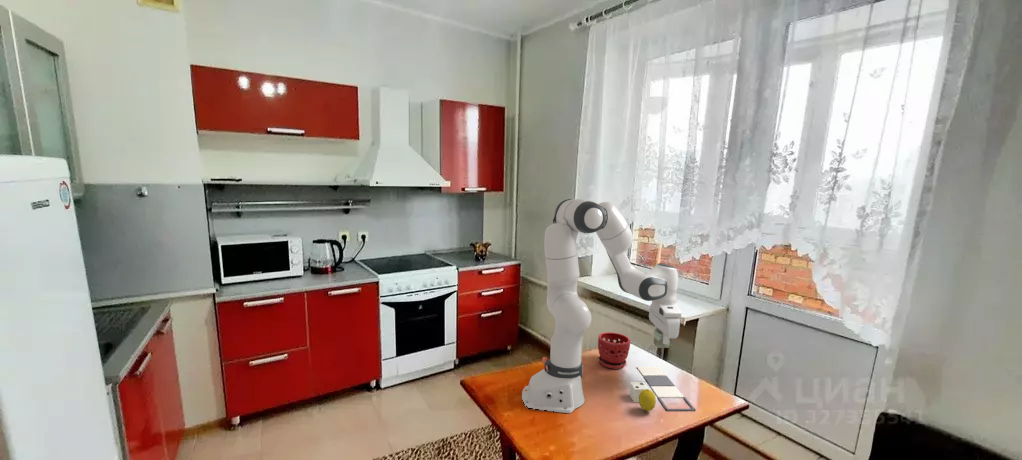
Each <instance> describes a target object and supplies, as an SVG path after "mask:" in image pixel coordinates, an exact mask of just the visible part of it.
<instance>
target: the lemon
mask: <svg viewBox="0 0 1022 460" xmlns="http://www.w3.org/2000/svg"><path fill="white" fill-rule="evenodd" d="M656 403H657V399H656V394H655V392H654V391H653V390H651V389H649V388H648V389H645V390H643V391H641V393H640V395H639V402H638V404H639V406H640V408H641V409H642V410H644V411H645V412H649V411H653V409H654V408H655V407H656Z"/></svg>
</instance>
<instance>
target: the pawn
mask: <svg viewBox="0 0 1022 460" xmlns="http://www.w3.org/2000/svg"><path fill="white" fill-rule="evenodd" d="M653 331H654V333H653V334H654V335H653V344H654V345H655V347H657V348H658V349H662V348H663V349H670V343H671V341H670V340H671V338H669V339H668V343H667V344H663V343H662V338H663V336H664V335H663V333H662V332H661V331H660V330H659V329H658V330H655V329H654V330H653Z"/></svg>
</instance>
